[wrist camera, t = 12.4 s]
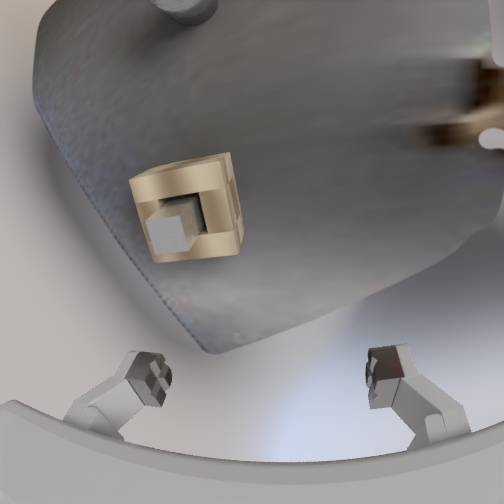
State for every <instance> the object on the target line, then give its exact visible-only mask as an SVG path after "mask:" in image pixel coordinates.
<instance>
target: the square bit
mask: <svg viewBox="0 0 504 504" xmlns="http://www.w3.org/2000/svg"><path fill="white" fill-rule="evenodd" d="M145 223H146V226H147V229H148V233H149V236H150V239H151V242H152V245H153V249H154V252H155V255H160V254H168V253H177V252H186V251H189V250H190V249H191V247H192V245H193V244H194V242H195V240H196V239H197V237H198V235H199V234H200V232H201V230H202V229H203V227H204V225H205V224H206V222H205V218H204V214H203V209H202V205H201V200H200V196H199V192H196V193H190V194H184V195H179V196H173V197H171V198H170V199H169V200H168V201H166V202H165V203H164V204H163V205H162V206H161V207H160V208H159V209H158V210H157V211H155V212H154V213H153V214H152V215H151V216H150V217H149V218H148V219H147V220H146V221H145Z"/></svg>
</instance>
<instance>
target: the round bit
mask: <svg viewBox="0 0 504 504" xmlns="http://www.w3.org/2000/svg"><path fill="white" fill-rule="evenodd" d="M151 2H152V3H153V4H154V5H156V6H157V7H158V8H160V9H161V10H163V11H164V12H165V13H167V14H168V15H170V16H171V17H172V18H174V19H175V20H176V21H178V22H179V23H181V24H184V25H197V24H200V23H203V22H205V21H207V20H208V19H209V18H211V17H212V15H213V14H214V13H215V11H216V9H217V6H218V0H151Z"/></svg>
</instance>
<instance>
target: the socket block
mask: <svg viewBox="0 0 504 504" xmlns="http://www.w3.org/2000/svg"><path fill="white" fill-rule="evenodd" d="M129 182H130V186H131V190H132V193H133V197H134V200H135V204H136V208H137V211H138V214H139V218H140V221H141V224H142V228H143V231H144V234H145V237H146V241H147V244H148V247H149V250H150V253H151V256H152V259H153V262H154V263H163V262H172V261H182V260H191V259H201V258H210V257H220V256H229V255H238V254H239V251H240V247H241V244H242V240H243V236H244V233H245V231H244V225H243V220H242V215H241V209H240V204H239V199H238V193H237V188H236V183H235V177H234V172H233V167H232V161H231V156H230V152H227V153H221V154H216V155H210V156H205V157H200V158H195V159H190V160H185V161H180V162H175V163H171V164H166V165H162V166H157V167H153V168H150V169H148V170H146V171H144V172H143V173H141V174H139V175H137V176H135V177H133V178H132V179H130V180H129ZM196 192H199V196H200V200H201V205H202V209H203V214H204V218H205V222H206V224H205V225H204V227H203V229H202V230H201V232H200V234H199V235H198V237H197V239H196V240H195V242H194V244H193V245H192V247H191V249H190V250H189V251H186V252H177V253H168V254H160V255H155V252H154V249H153V245H152V242H151V239H150V236H149V233H148V229H147V226H146V223H145V221H146V220H147V219H148V218H149V217H150V216H151V215H152V214H153V213H154V212H155V211H157V210H158V209H159V208H160V207H161V206H162V205H163V204H164V203H165V202H166V201H168V200H169V199H170V198H171V197H173V196H179V195H184V194H190V193H196Z"/></svg>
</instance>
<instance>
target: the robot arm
mask: <svg viewBox="0 0 504 504" xmlns="http://www.w3.org/2000/svg"><path fill="white" fill-rule="evenodd" d="M164 362H165V358H164V356H163V355H162V354H159V353H150V352H139V351H130V352H129V353H128V354H127V355H126V357H125V359H124V361H123V362H122V364H121V366H120V367H119V369H118V371H117V373H116V374H115V376H114V377H110V378H109V379H107V380H105V381H104V382H103V383H101V384H99V385H98V386H96V387H95V388H93V389H92V390H90V391H89V392H87V393H85V394H84V395H82V396H81V397H79V398H78V399H76V400H75V401H74V402H73V403H72V405H71V407H70V408H69V410H68V412H67V414H66V415H65V417H64V419H63V421H61V420H59V419H56V418H54V417H52V416H50V415H47V414H45V413H43V412H40V411H38V410H36V409H34V408H32V407H29V406H27V405H25V404H23V403H21V402H19V401H17V400H11V401H8V402H6V403H4V404H2V405H0V504H504V421H502V422H500V423H497V424H495V425H492V426H489V427H487V428H484V429H481V430H479V431H476V432H473V433H471V430H470V426H469V423H468V420H467V417H466V414H465V411H464V408H463V406H462V405H461V404H460V403H458V402H457V401H456V400H454V399H453V398H452V397H450V396H449V395H448V394H447V393H445V392H444V391H443V390H441V389H440V388H439V387H437V386H436V385H435V384H434V383H432V382H431V381H430V380H429V379H427V378H426V377H425V376H423V375H418V372H417V369H416V366H415V363H414V360H413V357H412V354H411V351H410V348H409V345H408V344H407V343H405V344H399V345H391V346H384V347H377V348H370V349H369V351H368V362H367V363H366V385H367V387H368V388H369V394H368V397H369V404H370V409H376V408H385V407H391V408H392V409H393V410H394V411H395V412H396V413H397V414H398V416H399V417H400V418H401V419H402V420H403V421H404V422H405V423H406V424H407V425H408V427H409V428H410V429H411V430H412V431H413V432H414V433H415V434H416V436H415V437H414V439H413V440H412V442H411V444H410V445H409V447H408V448H407V450H406V451H402V452H397V453H391V454H385V455H379V456H372V457H364V458H356V459H348V460H336V461H321V462H295V463H294V462H289V463H288V462H287V463H286V462H251V461H237V460H226V459H216V458H208V457H200V456H193V455H187V454H181V453H175V452H169V451H165V450H160V449H155V448H150V447H146V446H141V445H137V444H133V443H130V442H126V441H124V438H123V437H122V436H121V435H120V434H119V432H118V430H119V429H120V428H121V427H122V426H123V425H124V424H126V423H127V422H128V421H129V420H130V419H131V418H132V417H133V416H134V415H136V414H137V413H138V412H139V411H140V410H141V409H142V408H143V407H144V405H147V406H155V407H162V405H163V403H164V400H165V398H166V393H165V390H167V389H168V388H169V387H170V385H171V382H172V372H171V369H170V367H169V366H168V365H166V364H165V363H164Z"/></svg>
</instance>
